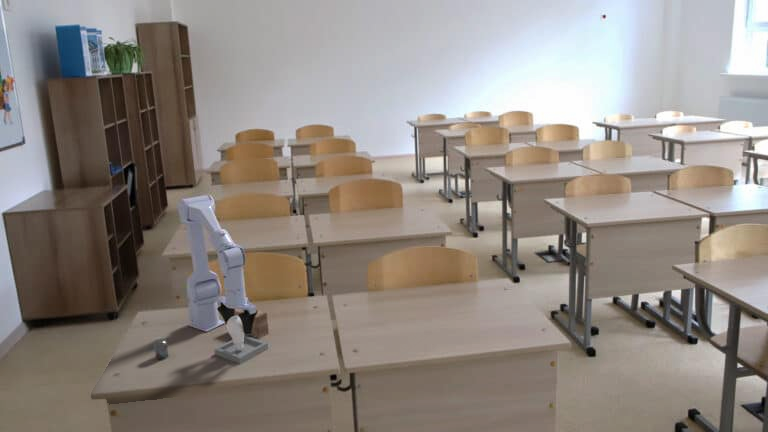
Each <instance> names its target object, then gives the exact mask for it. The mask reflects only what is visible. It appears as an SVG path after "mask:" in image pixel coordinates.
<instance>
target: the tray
mask: <svg viewBox="0 0 768 432" xmlns="http://www.w3.org/2000/svg"><path fill="white" fill-rule="evenodd" d="M243 346H244V348H243V349H242V350H241V351H238V350H235V346H234V343H233V339H231V340H229V341H227V342H226V343H223V344H221V345H220V346H218V347H215V348H214V355H216V356H219V357H222V358H224V359H226V360H229V361H231V362H235V363H237V364H239V365H240V364H242V363H244V362H246V361H249V359H252V358H254V357H256V356H257V355H259V354H260V353H262V352H265V351H266V350H268V349H269V345H268V342H265V341H262V340H260V339H257V338H255V337H254V338H253V337H251V336H250V337H249V335H244V342H243Z"/></svg>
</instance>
